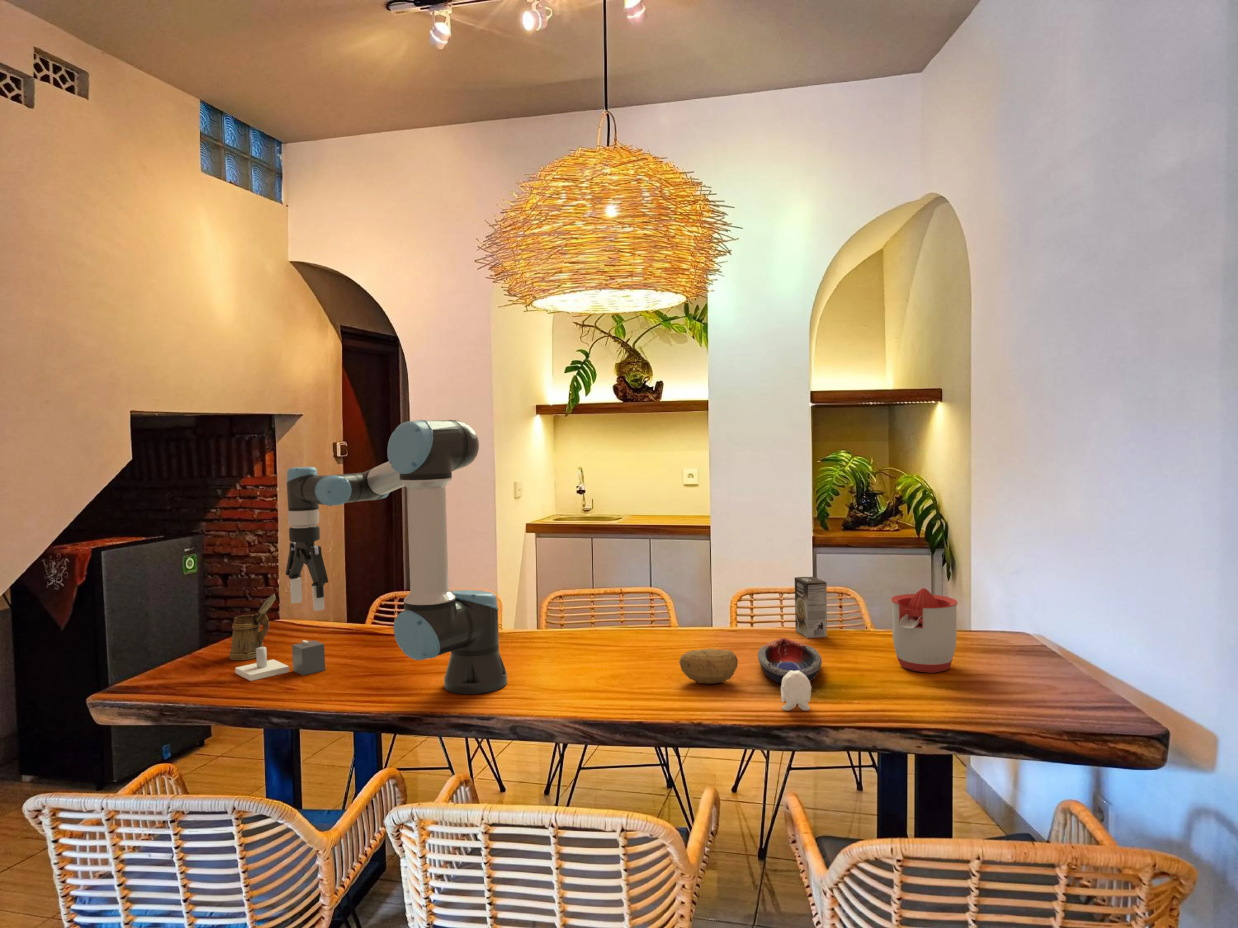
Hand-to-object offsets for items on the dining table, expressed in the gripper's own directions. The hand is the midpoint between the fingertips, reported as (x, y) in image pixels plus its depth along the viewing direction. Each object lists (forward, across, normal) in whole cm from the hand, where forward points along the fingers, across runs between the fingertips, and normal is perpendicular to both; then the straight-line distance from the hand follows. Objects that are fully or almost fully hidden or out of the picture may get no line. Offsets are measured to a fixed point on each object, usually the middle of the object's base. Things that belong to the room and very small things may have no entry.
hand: (307, 606), depth 217 cm
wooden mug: (+17, +26, +5) cm, 31 cm away
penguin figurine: (+17, -110, -60) cm, 127 cm away
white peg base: (+17, +8, +10) cm, 21 cm away
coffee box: (+17, -80, -115) cm, 141 cm away
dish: (+17, -95, -81) cm, 126 cm away
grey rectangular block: (+17, 0, 0) cm, 17 cm away
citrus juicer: (+17, -119, -104) cm, 159 cm away
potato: (+17, -86, -60) cm, 106 cm away
